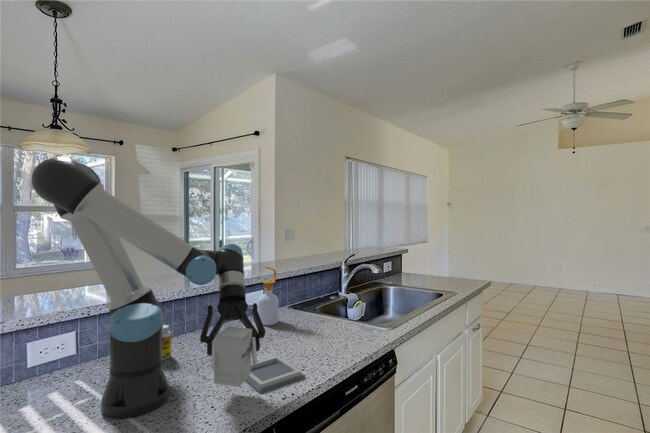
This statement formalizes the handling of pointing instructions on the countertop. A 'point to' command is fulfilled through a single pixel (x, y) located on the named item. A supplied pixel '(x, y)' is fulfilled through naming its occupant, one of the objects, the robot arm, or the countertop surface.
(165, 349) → the supplement bottle
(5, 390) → the countertop surface
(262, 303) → the soap bottle
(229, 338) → the supplement box
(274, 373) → the slate base tray
